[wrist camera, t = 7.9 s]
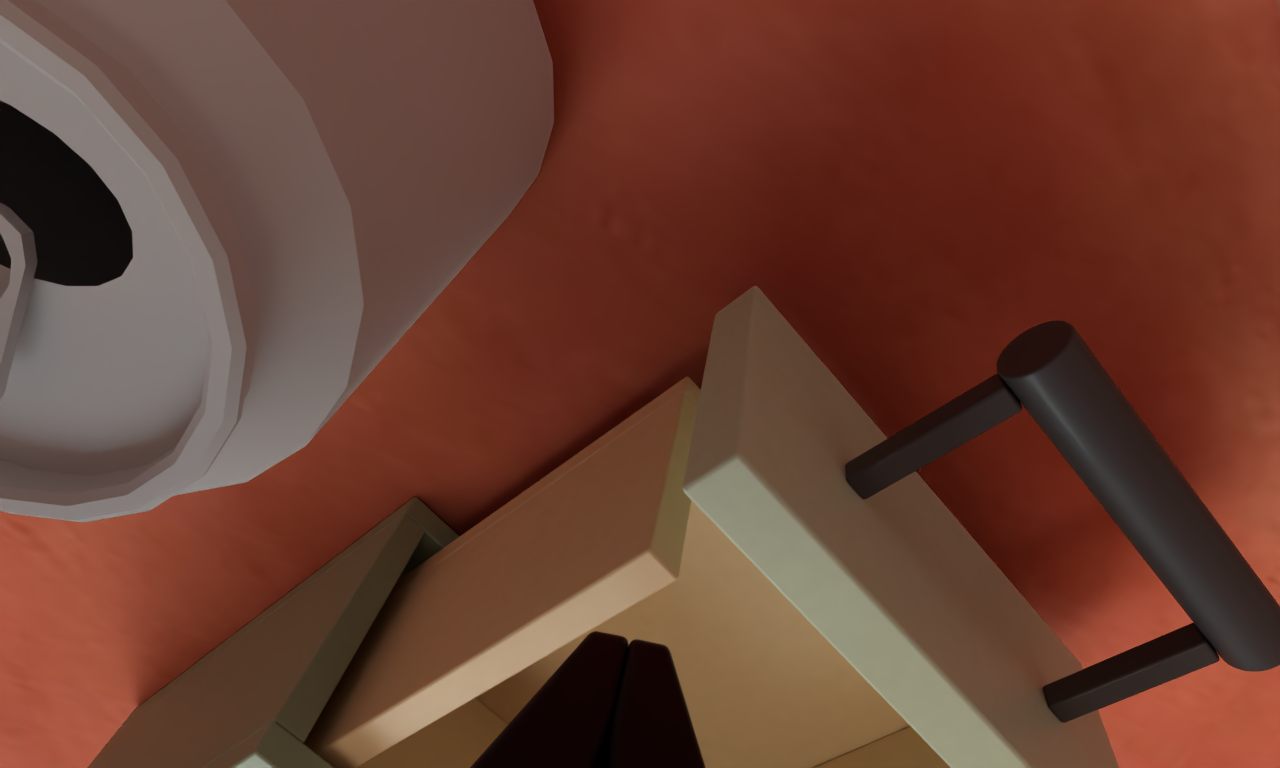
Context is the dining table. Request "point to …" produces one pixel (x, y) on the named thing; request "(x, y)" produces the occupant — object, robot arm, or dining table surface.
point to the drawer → (800, 577)
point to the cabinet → (278, 663)
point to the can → (234, 221)
